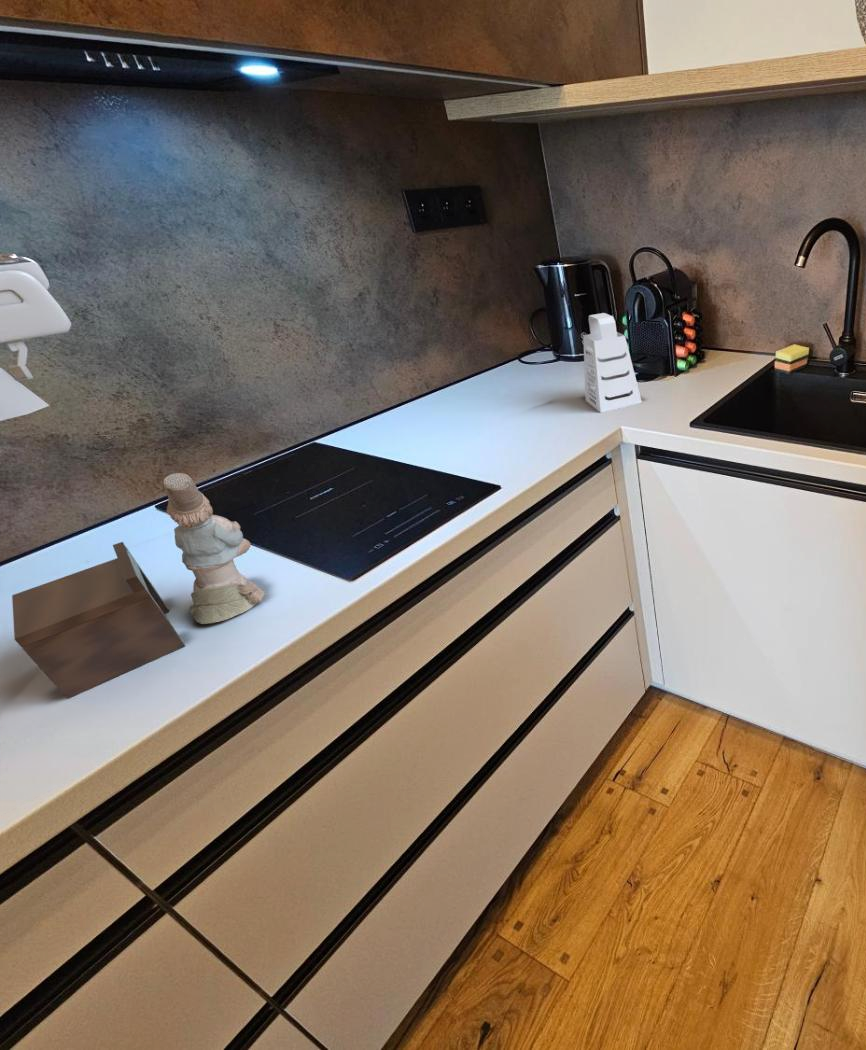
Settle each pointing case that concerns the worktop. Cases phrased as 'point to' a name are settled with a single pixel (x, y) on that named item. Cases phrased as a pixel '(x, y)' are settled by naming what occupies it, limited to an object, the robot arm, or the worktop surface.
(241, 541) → the figurine
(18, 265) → the robot arm
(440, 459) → the worktop surface
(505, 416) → the worktop surface
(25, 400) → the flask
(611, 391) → the grater
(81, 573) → the wooden block with backboard
